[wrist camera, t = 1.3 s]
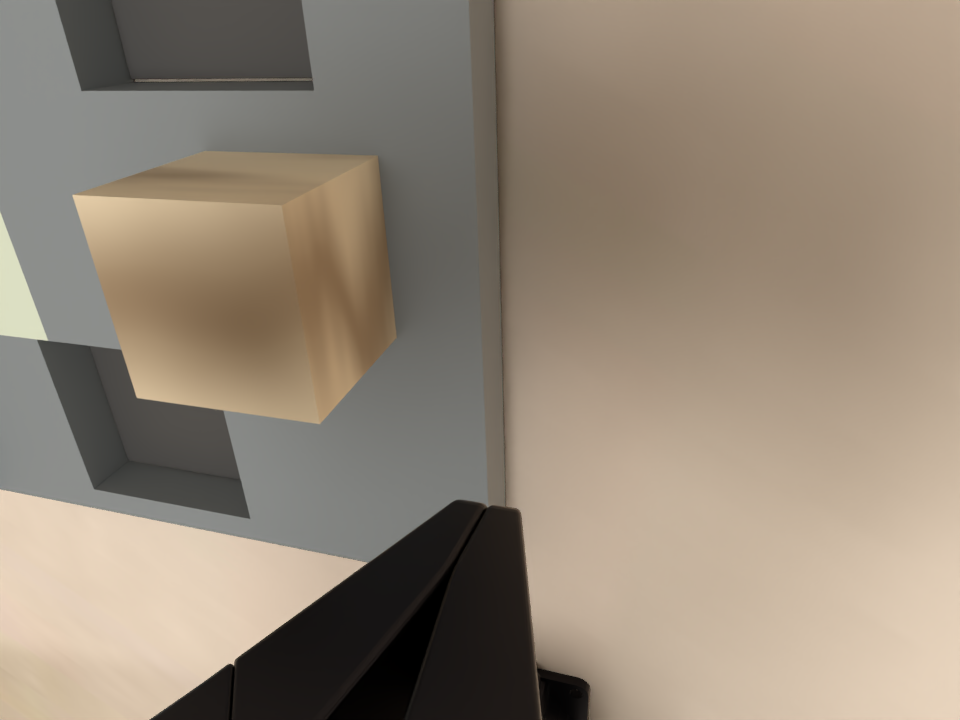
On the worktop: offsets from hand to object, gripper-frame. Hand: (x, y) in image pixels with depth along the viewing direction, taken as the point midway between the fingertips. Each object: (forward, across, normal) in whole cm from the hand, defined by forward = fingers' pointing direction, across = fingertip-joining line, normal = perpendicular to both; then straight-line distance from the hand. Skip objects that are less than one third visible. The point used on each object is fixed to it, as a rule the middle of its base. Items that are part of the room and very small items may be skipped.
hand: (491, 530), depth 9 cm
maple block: (+10, +8, 0) cm, 12 cm away
